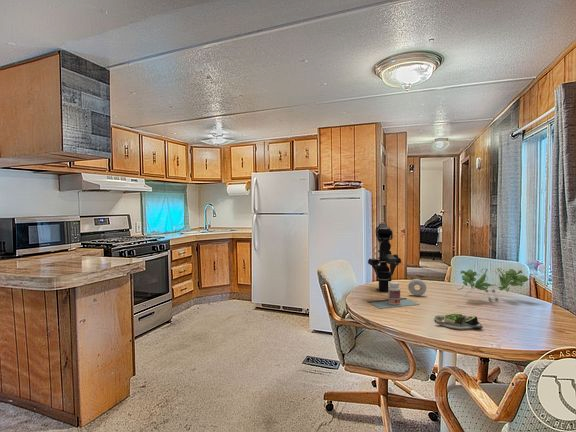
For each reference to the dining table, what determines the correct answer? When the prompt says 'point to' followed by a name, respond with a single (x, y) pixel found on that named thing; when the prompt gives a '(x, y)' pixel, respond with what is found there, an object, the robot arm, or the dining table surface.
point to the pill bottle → (394, 293)
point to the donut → (420, 283)
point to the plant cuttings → (504, 282)
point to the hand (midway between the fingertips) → (384, 275)
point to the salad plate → (458, 321)
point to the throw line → (383, 300)
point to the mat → (388, 305)
